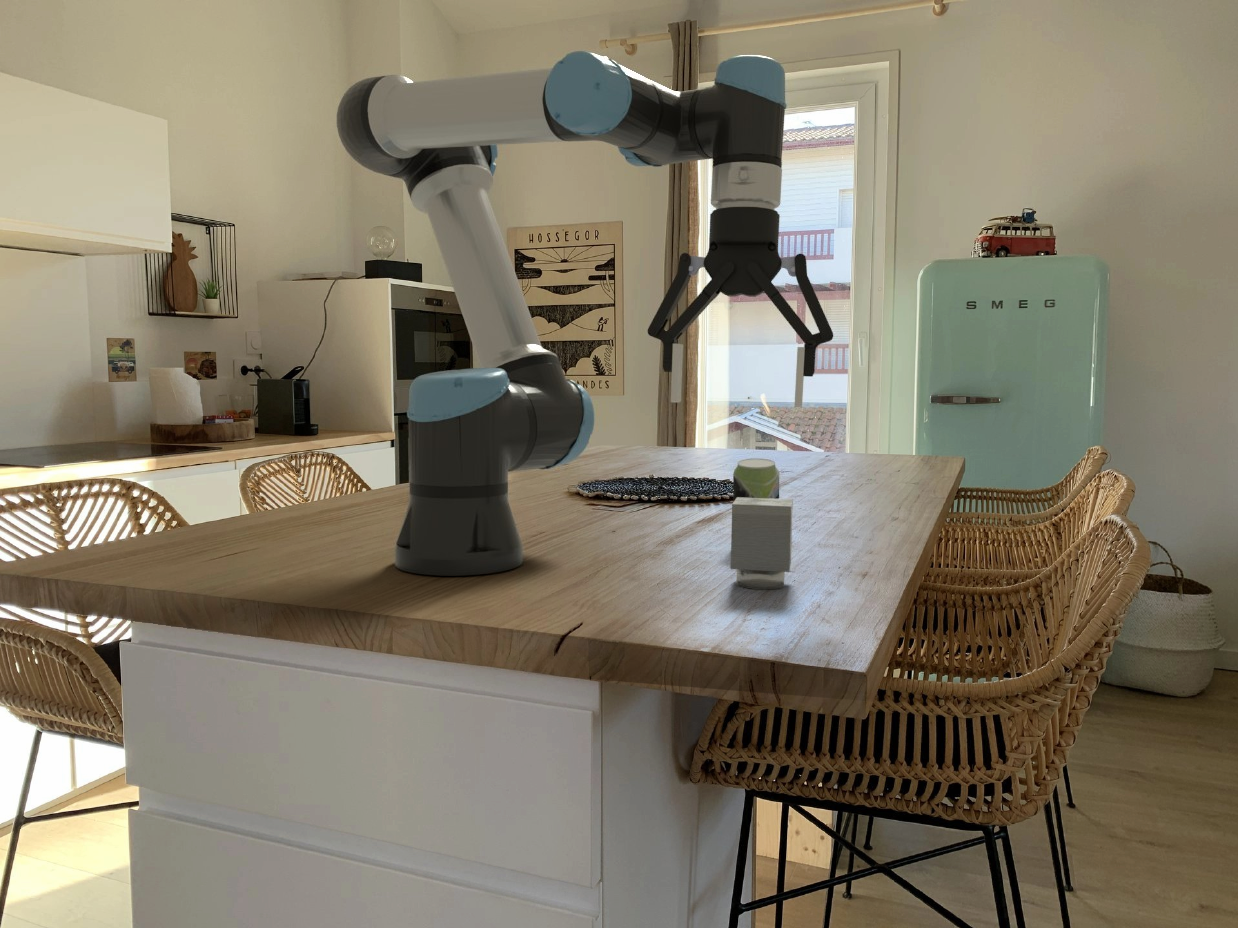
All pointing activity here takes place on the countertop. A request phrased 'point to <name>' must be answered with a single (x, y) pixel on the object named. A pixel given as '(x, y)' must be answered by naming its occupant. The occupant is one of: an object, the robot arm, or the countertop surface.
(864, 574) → the countertop surface
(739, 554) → the brushed steel cube
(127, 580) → the countertop surface
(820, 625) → the countertop surface
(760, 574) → the ratchet
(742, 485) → the beverage can
